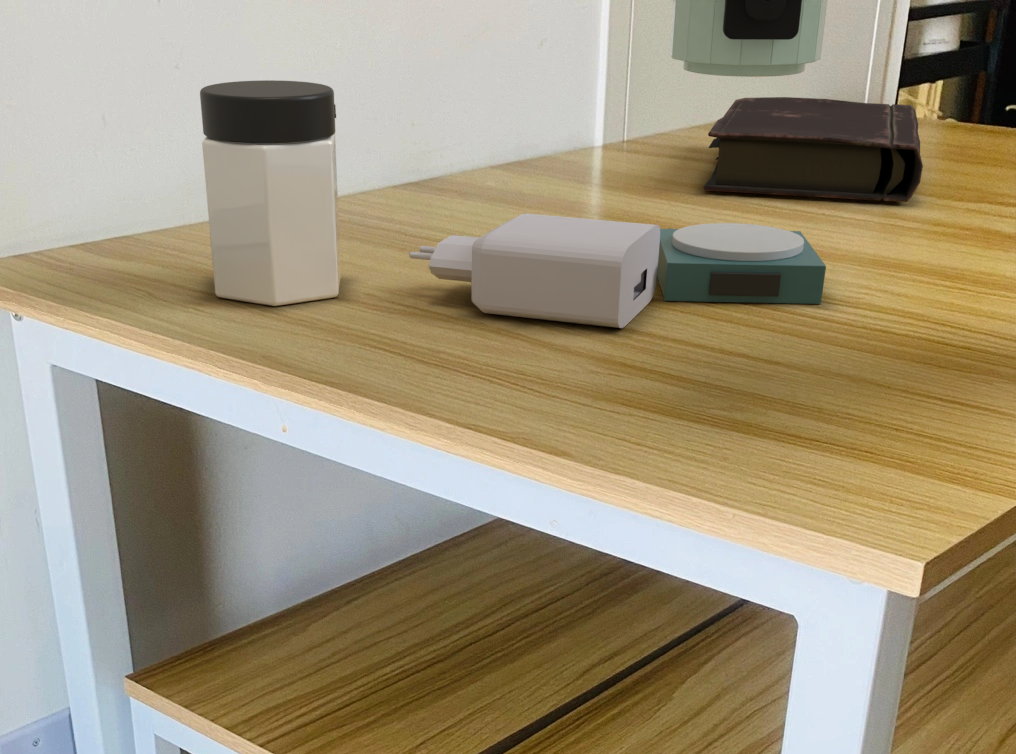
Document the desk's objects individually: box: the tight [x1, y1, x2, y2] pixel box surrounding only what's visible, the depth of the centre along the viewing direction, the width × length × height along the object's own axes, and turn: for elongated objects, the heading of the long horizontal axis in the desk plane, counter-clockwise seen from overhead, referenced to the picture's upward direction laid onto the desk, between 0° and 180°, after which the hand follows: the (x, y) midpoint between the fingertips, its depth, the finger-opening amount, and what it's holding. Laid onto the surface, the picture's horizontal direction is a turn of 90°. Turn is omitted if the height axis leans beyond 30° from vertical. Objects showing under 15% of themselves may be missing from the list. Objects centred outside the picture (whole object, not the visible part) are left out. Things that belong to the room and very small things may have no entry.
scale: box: [657, 222, 827, 305], centre depth 91 cm, size 10×10×3 cm
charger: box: [408, 213, 661, 329], centre depth 86 cm, size 5×9×15 cm
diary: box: [702, 96, 924, 203], centre depth 125 cm, size 19×25×5 cm
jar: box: [199, 79, 342, 307], centre depth 86 cm, size 9×8×12 cm
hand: (747, 26), depth 63 cm, fingers closed on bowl, 6 cm apart
